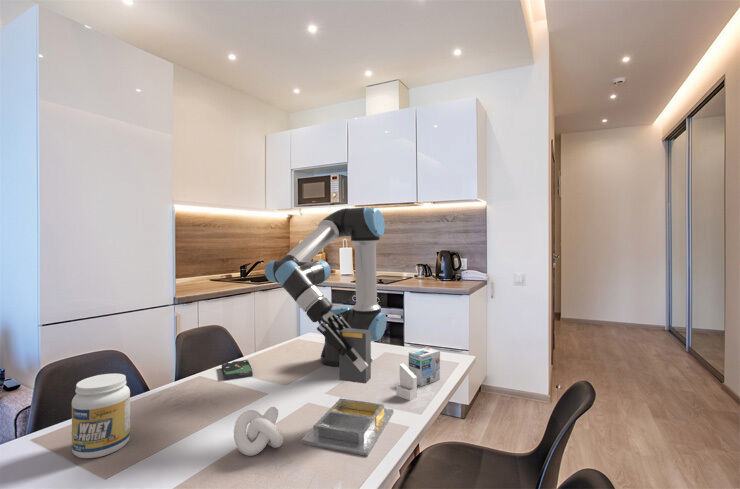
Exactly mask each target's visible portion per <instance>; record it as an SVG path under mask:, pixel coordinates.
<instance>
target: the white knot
mask: <svg viewBox="0 0 740 489" xmlns="http://www.w3.org/2000/svg"><path fill="white" fill-rule="evenodd" d="M278 418H279V409H278V408H277V407H276V406H270V407H269V408H267V410H265V412H264V414H262V413H260V412H259V411H258V410H255V409H247V410H245V411H243V412H242V413H240V414H239V416H238V417H237V419H236V420H235V423H234V428H233V439H234V444H235V446H236V448H237V449H238V451H239V452H240V453H241V454H243V455H245V456H247V457H248V456H249V457H252V456H256V455H258V454H259V453H260V452H262V451H263V450H264V449H265V448H266V446H267V444H268V446H270V447H272V448H274V449H276V448H280V447H282V445H283V442H284V436H283V433H282V432H281V430H280V429H279V428H278V426H276V422H277V420H278Z"/></svg>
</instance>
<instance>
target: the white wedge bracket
mask: <svg viewBox="0 0 740 489" xmlns="http://www.w3.org/2000/svg"><path fill="white" fill-rule="evenodd" d="M395 387H396V388H395V396H396V397H399V398H401V399H402V398H403V399H405V400H408V401H412V400H414V399H416V398H417V397H418V396H417V395H418V393H417V392H418V385H417V377H416V376H415V375H414V374H413V373H412V372H411V371H410V370H409V367H408V366H407V365H405V363H399V384H398V385H396V386H395Z"/></svg>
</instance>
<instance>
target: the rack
mask: <svg viewBox="0 0 740 489" xmlns="http://www.w3.org/2000/svg"><path fill="white" fill-rule="evenodd" d="M394 413H395V412H394V409H393V408H392V409H391V408H385V404H382V403H376V402H370V401H368V402H367V401H362V400H357V399H356V400H354V399H348V398H341V397H340V398H339V399H338V400H337V401H335V403H334V404H333V405H332V406H331V408H329V409H328V410H327V411H326V413H324V414H323V415H322V416H321V417H320V418H319V420H317V421H316V423H314V425H313V427H312V428H311V429H310V430H309V431H307V433H306V434H305V435H304V436H303V437H302V438H301V440H300V444H301V445H306V446H313V447H317V448H322V449H328V450H335V451H339V452H344V453H348V454H349V453H350V454H355V455H360V456H366V457H369V455H370V453H371V452H372V450H373V448H374V447H375V445H376V443H377V442H378V440H379V438H380V436H381V435H382V433H383V431H384V430H385V428H386V426H387V425H388V424H389V421H390V420H391V419H392V416H393V415H394Z"/></svg>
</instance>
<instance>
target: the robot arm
mask: <svg viewBox="0 0 740 489" xmlns="http://www.w3.org/2000/svg"><path fill="white" fill-rule="evenodd" d="M385 230H386V223H385V219H384V215H383V213H382V212H381V210H379V209H378V208H377V207H369V206H367V207H353V208H352V207H351V208H349V207H348V208H342V209H338V210H336V211H333V212H332V213H330V214H329V215H327V216H326V217H325V218H324V219H322V220H320V221H319V223H318V225H317V228H315V229H314V230H313V231H312V232H311V233H310V234H308V235H307V236H306V237H305V238H304V239H303V240H301V241H300V243H298V244H297V245H296V246H295V247H294V248H292V249H291V250H290V251H289V252H287V254H286V255H284V256H283V257H282V258H281V259H279V260H277V259H275V260H270V261H269V262H267V264H266V266H265V268H264V274H265V278H266V279H267V281H269V282H271V283H277V284H280V285H281V287H282V288H283V290H285V291H286V292H287V293H288V294H289V295H290V297H291V298H292V299H293V300H294V301H295V303H296V304H297V305H298V307H299V309H301V310H302V311H303V312H304V313H305V312H306V313H305V314H306V316H307V317H308V318H309V320H311V322H312V323H318V325H319V326H317V327H316V330H317V332H319V333H320V334H321V335H323V337H324V344H323V348H322V350H321V353H320V362H321V364H323V365H325V366H330V367H339V354H341V355H342V356H344V355H345V354H346V355H347V356H348V358H349V359H350V360H351V361H352V362H353V363H354V365H355V366H356V367H357V368H358V369H359V370H360V372H362V371H363V370H364V369H365V368H366V367H367V366H368V364H367V363H366V362H365V361H364V360H363V358H362V357H361V356H360V355H359V354H358V353H357V352H356V350H355V349H354V348H352V349H351V347H350V346H349V344H348V343H347V341H346V340H345V338H344V337H343V336H342V335H341V334H340V333H339V331H341V330H343V329H344V328H352V329H364V330H371V342H378V341H380V339H382V337H383V335H384V333H385V331H386V328H387V315H386V314H385V313H384V312H382V310H381V308H382V307H381V305H379V303H378V292H377V288H378V287H377V281H378V280H377V279H378V278H377V244H378V243H379V242H380V239H381V238H380V237H382V236H383V235H384V233H385ZM343 237H350V241H351V243H352V244H353V245H354V261H355V262H354V266H355V267H354V269H355V271H354V272H355V275H354V276H355V304H354V305H353V306H352V305H349V304H348V305H345V304H344V305H337V306H333V304H332V303H331V301H329V299H328V298H327V297H324V293H323V292H322V291H321V290H320V289H319V288H318V286H317V285H319V284H323V283H324V282H326V281H327V280H328V279H329V278H330V276H331V271H332V270H331V267H330V264H329V263H328V262H327V261H325V260H323V259H317V260H316V259H315V260H313V259H314V258H316V256H318V254H320V253H321V252H322V250H323V249H324V248H326V247H327V246H328V244H330V243H331V242H334V241H336V240H338V238H343ZM374 360H375V359H374V358H373V357H372V356H371V363H372V362H373V361H374Z"/></svg>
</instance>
